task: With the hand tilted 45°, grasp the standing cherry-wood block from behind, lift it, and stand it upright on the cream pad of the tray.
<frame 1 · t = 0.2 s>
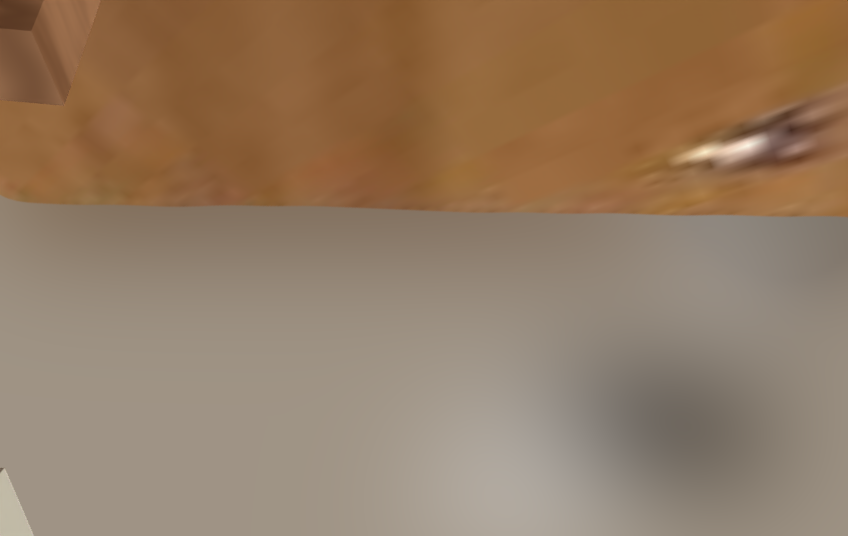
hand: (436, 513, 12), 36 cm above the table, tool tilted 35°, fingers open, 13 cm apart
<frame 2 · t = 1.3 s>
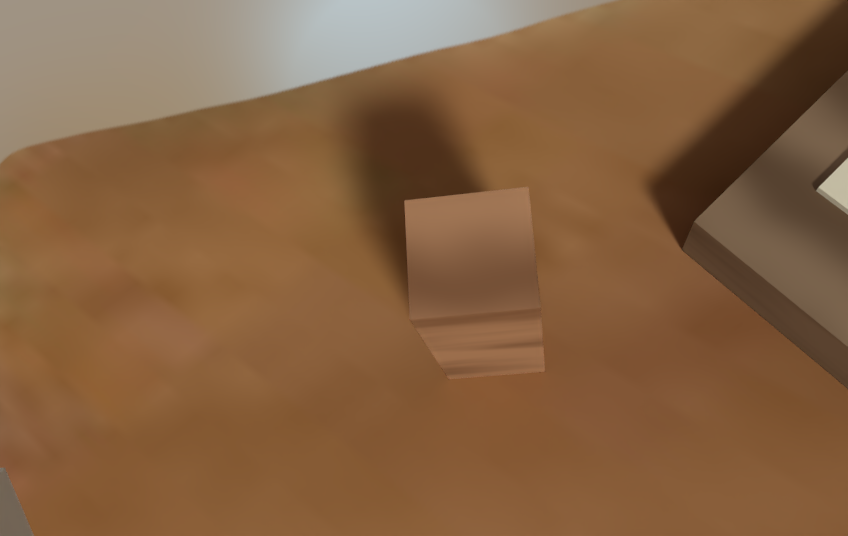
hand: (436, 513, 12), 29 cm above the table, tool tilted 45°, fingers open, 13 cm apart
cherry block: (492, 328, 43), on the table
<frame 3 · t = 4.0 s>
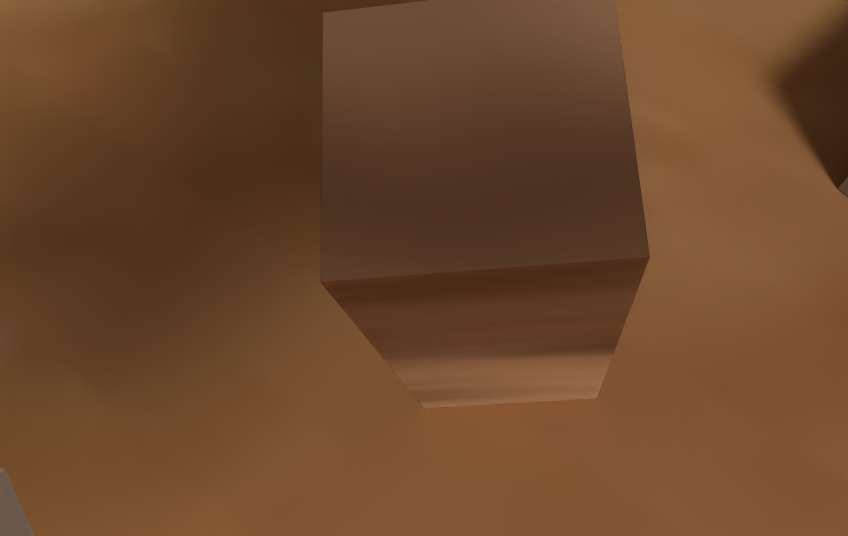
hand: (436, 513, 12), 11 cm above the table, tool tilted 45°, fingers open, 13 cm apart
cherry block: (503, 320, 24), on the table
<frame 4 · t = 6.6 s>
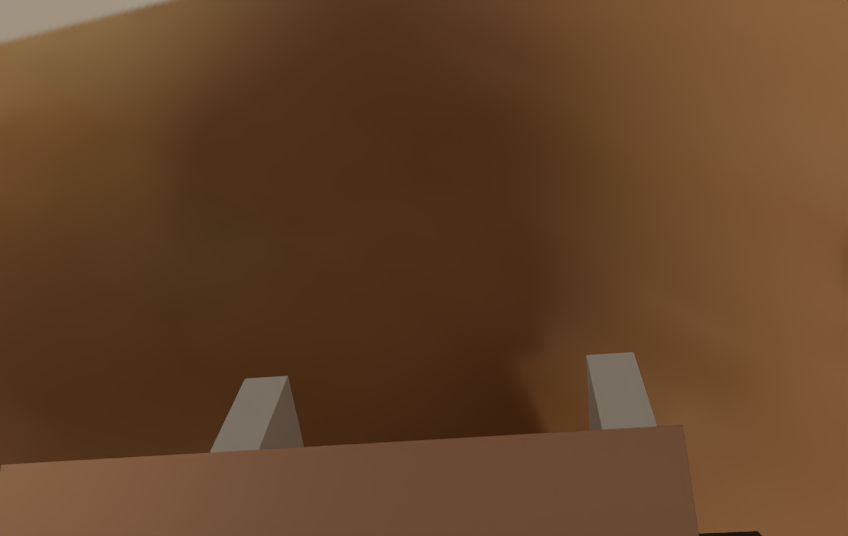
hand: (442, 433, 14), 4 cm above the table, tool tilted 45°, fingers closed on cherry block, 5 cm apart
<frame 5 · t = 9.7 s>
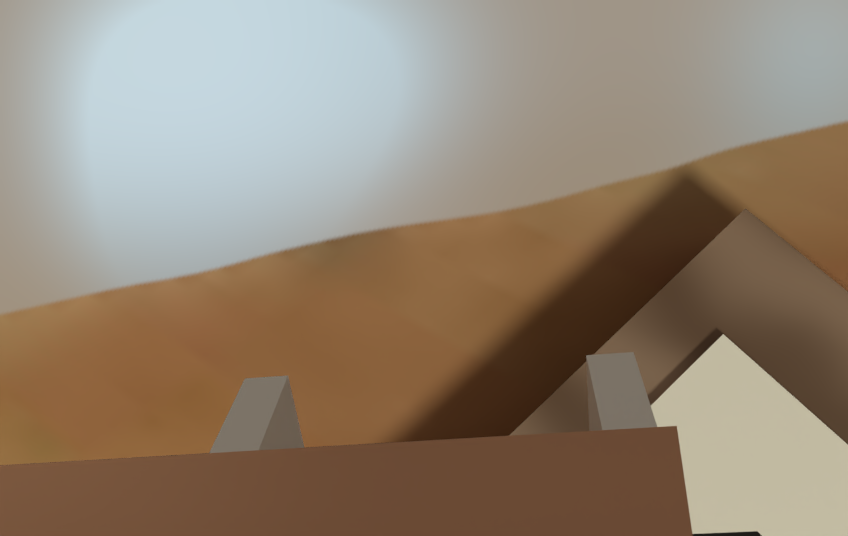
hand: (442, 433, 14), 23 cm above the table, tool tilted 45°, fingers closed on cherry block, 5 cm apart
when the fingers open (9 cm above the table, at t = 13.1 s): cherry block stays where it is, resting on tray.
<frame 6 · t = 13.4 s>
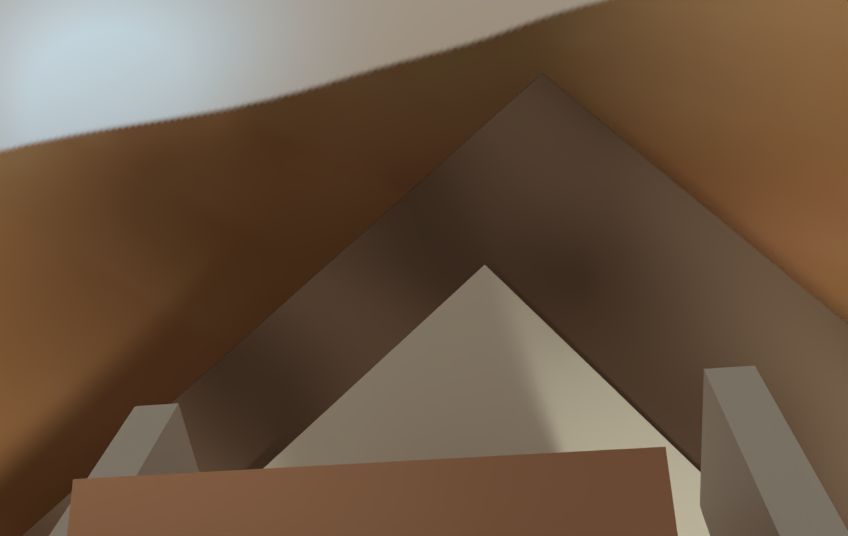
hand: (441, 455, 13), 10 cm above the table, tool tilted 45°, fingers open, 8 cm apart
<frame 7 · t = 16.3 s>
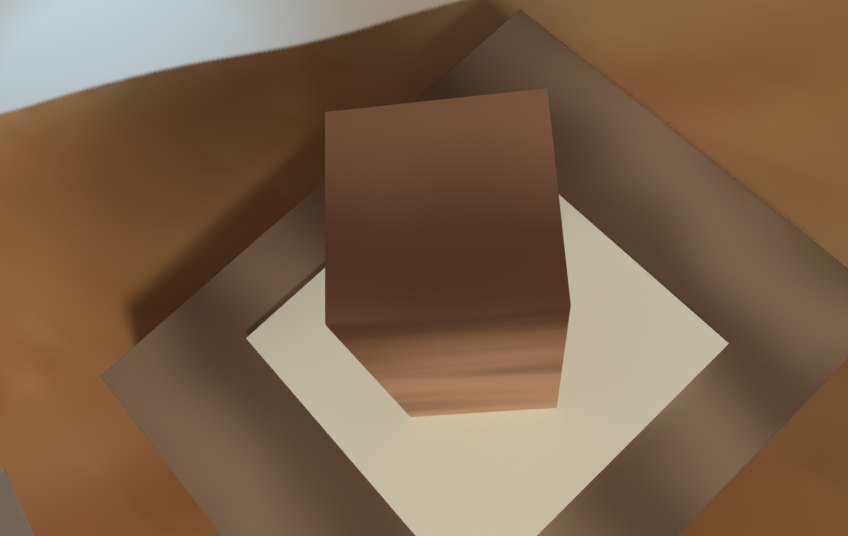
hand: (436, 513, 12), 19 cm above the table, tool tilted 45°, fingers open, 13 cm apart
cherry block: (478, 341, 28), point 4 cm above the table, touching tray
tray: (484, 367, 32), on the table
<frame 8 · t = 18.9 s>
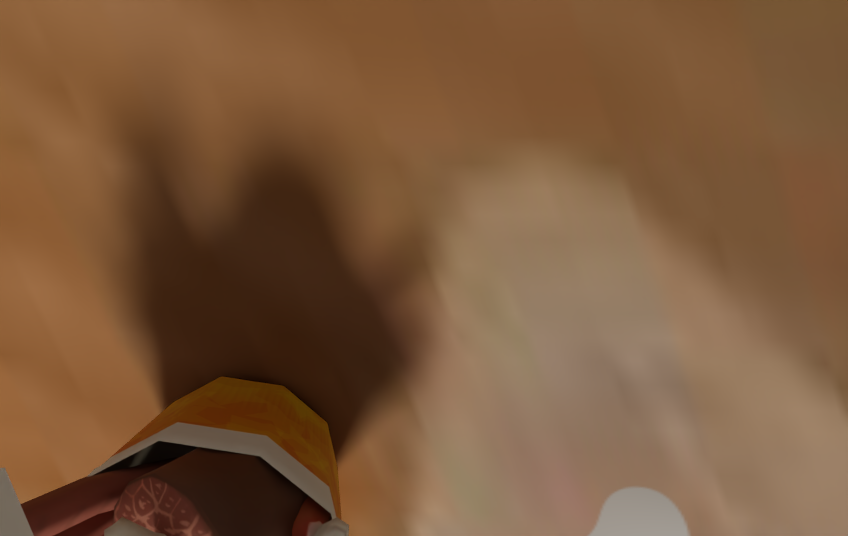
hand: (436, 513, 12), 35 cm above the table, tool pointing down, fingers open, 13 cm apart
bucket of meat: (245, 437, 56), on the table
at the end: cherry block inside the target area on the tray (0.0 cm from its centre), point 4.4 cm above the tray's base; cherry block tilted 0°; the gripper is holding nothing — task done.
